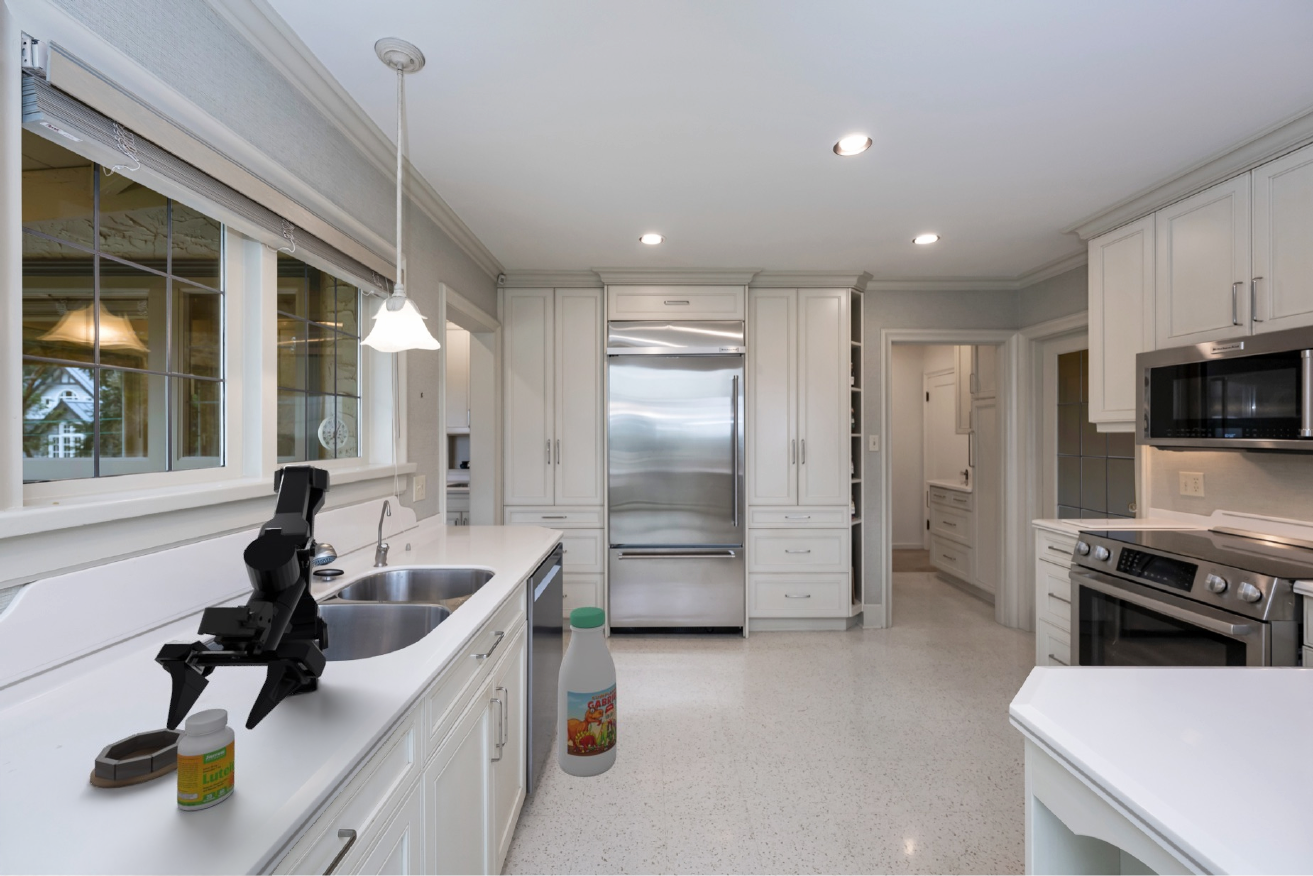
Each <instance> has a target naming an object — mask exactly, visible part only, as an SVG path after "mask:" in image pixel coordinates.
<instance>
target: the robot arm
mask: <svg viewBox="0 0 1313 876" xmlns="http://www.w3.org/2000/svg"><path fill="white" fill-rule="evenodd" d="M273 473H274V474H273V475H274V477H273V492H274V493H275V494H277V499H276V504H275V509H274V512H273V516H272V518H271V519H270V520H268V521H266V522H265V523H264V524H262V525H261V527H260V530H259V532H258V535H257V538H255V539H253V540H252V541H251V542H250V543H249V544H248V545H247V546H246V548H245V549H244V550H243V555H242V556H243V561H244V565H245V568H246V571H247V574H248V579H249V582H250V584H251V586H252V588H253V591H252V593H251V595H250V597H249V598H248V600H247V602H246V604H245V605H237V606H209V607H205V608H204V611H203V614H202V617H201V620H200V622H199V623H200V624H199V626H198V629H197V632H196V635H199V636H204V635H208V636H209V635H210V636H214V639H213V642H214V644H216V645H218V646H222V649H221V650H217V649H216V650H212V649H210V648H209V647H207V646H206V645H205V644H204V643H203V642H202V641H201V640H200V639H198V640H197V639H195V640H194V639H192V640H191V639H189V640H187V639H183V640H181V639H180V640H179V639H177V640H174V639H173V640H171V641H168V642H165V643H164V644H163V646H162V647H160V650H159V651H158V653H157V655H156V656H155V657H154V661H155V662H157V663H158V664H159V665H160V666H161V667H162V669H163V670H165V672H167V673H168V674H170V678H171V693H170V694H171V696H170V702H169V706H168V707H169V708H168V713H167V719H166V727H165V728H168V729H169V730H175V729H178V727H179V726H180V724H181V723H182V722H183V721H184V719H185V718H186V716H187V715H188V714H189V712H190V710H191V709H192V708H193V706H194V705H195V703H196V702H197V701H198V699H199V698H200V697H201V695H202V693H204V691H205V689H206V688H207V686H208V685H209V684H210V680H209V679H207V677H208V676H210V675H211V674H213V672H214V671H215V669H216V667H267V669H266V678H265V681H264V683H263V684H262V687H261V688H260V691H259V693H258V694H257V697H256V699H255V701H254V703H253V706H252V708H251V710H249V711H250V712H249V714H248V717H247V720H246V721H245V729H247V730H254V728H256V726H258V725H259V724H260V723H261V722H262V721H263V720H264V719H265V718H266V717H267V716H268V715H269V714H270V713H271V712H272V711H273V710H274V709H275V708H276V707H277V706H278V705H279V704H280V703H282V701H283V700H284V699H286V698H287V697H288V696H292V695H297V694H303V693H309V692H313V691H317V690H318V686H319V679H320V677H322V675H323V673H324V670H325V668H326V665H327V657H326V656H325V654H324V650H326V649H329V643H330V640H329V639H330V637H329V624H328V623H327V622H326V621H325V620H326V619H325V617H324V615H321V610H320V607H319V604H318V602H317V601H316V599H315V598H314V596H313V595H312V593H311V592H312V576H313V575H312V573H313V560H314V558H316V556H317V554H318V553H319V543H317V542H316V539H315V537H314V536H315V534H314V533H315V522H316V521H315V520H316V518H315V517H316V515H317V514H318V513H319V511H321V509H322V508H323V506H324V505H325V503H326V493H329V492H330V488H331V487H330V486H331V485H330V484H331V483H330V482H331V479H330V478H331V477H330V472H329V470H328V469H323V468H322V467H315V465H311V464H286V465H285V466H280V469H277V470H275V471H274V472H273Z"/></svg>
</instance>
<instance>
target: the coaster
mask: <svg viewBox="0 0 1313 876" xmlns="http://www.w3.org/2000/svg"><path fill="white" fill-rule="evenodd" d="M185 736H187V734H186V733H185V729H178V728H176V729H175V730H169V729H168V728H167V727H165V728H159V729H154V730H149V731H143V732H138V733H136V734H135V733H134V734H131V735H130V736H126V737H125V738H121V739H120V740H118V741H115V742H113V743H111V744H108V745H106V746H105V747H103V748H102V749H101V751H100V753H99V754H98V755H97V757H96V758H94V768H93V769H92V771H91V772H90V774H89V783H90V784H91V785H93V786H94V787H97V788H103V789H112V788H114V789H115V788H123V787H124V788H125V787H128V786H134V785H137V784H142V783H145V782H147V781H151V780H154V779H157V778H159V777H162V776H165V775H167V774H169V773H171V772H172V771H175V770H177V751H178V745H179V743H180V741H181V740H182V739H183V738H184V737H185Z"/></svg>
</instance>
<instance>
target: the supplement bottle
mask: <svg viewBox="0 0 1313 876" xmlns="http://www.w3.org/2000/svg"><path fill="white" fill-rule="evenodd" d="M228 713H229V712H228V711H227V709H225V708H210V709H206V710H202V711H198V712H196V713H194V714H191V715H189V716H188V717H187V718H186V719H185V723H184V730H185V733H186V734H187V736H185V737H184V738H183V739H182V740H181V741H180V743H179V745H178V751H177V769H176V771H177V773H176V774H177V780H176V784H177V786H176V787H177V789H176V802H177V807H178V808H179V809H180V810H182V811H187V812H188V811H198V810H204V809H207V808H211V807H214V806H215V805H218V804H220V803H221V802H224V801H225V800H226V799H227V798H229V797H230V796H231V795H232V793H233V792H234V789H235V763H236V762H235V761H236V760H235V757H236V755H235V750H236V749H235V748H236V746H235V743H236V742H235V741H236V740H235V739H236V737H235V736H236V735H235V730H234V729H233V728H232V727H231V726H228V719H229V718H228V715H229V714H228Z"/></svg>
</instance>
